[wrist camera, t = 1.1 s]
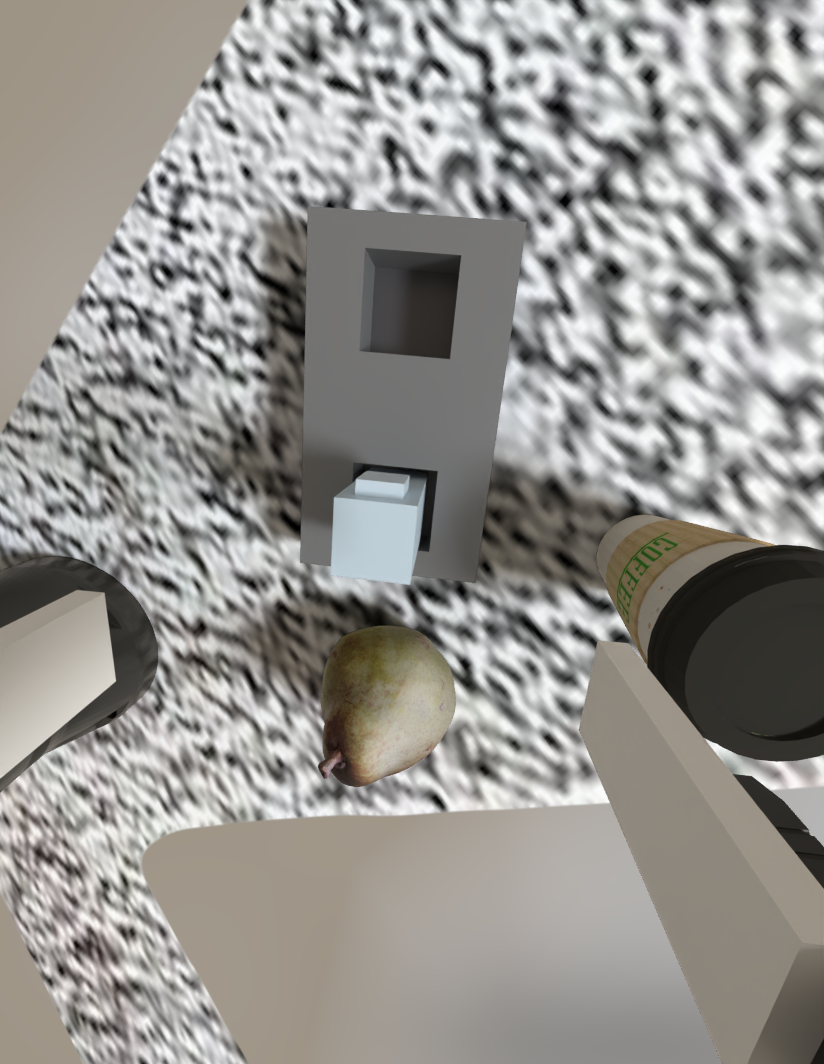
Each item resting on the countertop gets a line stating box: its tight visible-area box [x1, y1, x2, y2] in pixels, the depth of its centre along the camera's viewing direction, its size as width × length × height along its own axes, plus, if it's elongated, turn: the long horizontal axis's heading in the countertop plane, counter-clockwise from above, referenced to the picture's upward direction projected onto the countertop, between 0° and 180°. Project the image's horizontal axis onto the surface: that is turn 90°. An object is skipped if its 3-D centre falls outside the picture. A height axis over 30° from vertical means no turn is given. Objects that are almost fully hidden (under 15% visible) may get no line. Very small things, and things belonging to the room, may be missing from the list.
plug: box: [331, 467, 428, 585], centre depth 26 cm, size 4×5×11 cm
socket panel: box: [300, 206, 527, 583], centre depth 29 cm, size 12×21×4 cm, turn 175°
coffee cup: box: [596, 515, 824, 762], centre depth 25 cm, size 10×10×15 cm
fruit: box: [318, 626, 456, 787], centre depth 30 cm, size 10×9×12 cm
